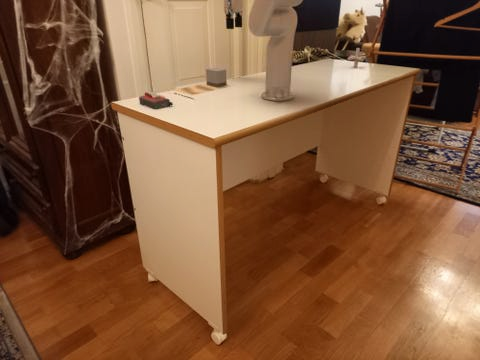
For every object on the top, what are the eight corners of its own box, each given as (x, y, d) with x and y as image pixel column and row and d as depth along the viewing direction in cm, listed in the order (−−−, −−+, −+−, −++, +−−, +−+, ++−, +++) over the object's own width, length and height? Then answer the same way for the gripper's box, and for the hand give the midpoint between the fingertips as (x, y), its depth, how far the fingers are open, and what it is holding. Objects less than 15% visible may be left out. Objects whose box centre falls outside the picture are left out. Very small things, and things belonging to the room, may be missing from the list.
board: (215, 85, 155) (215, 81, 154) (234, 89, 147) (234, 85, 147) (174, 93, 142) (173, 89, 141) (192, 98, 134) (191, 94, 133)
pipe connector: (342, 67, 192) (344, 47, 188) (358, 65, 195) (360, 46, 190) (352, 70, 184) (355, 49, 179) (369, 68, 186) (372, 49, 182)
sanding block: (215, 83, 152) (215, 67, 149) (226, 85, 147) (226, 69, 144) (206, 84, 149) (205, 69, 146) (217, 87, 144) (216, 71, 141)
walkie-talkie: (178, 106, 126) (149, 96, 139) (177, 94, 124) (148, 85, 137) (156, 111, 121) (129, 100, 134) (155, 98, 119) (127, 89, 132)
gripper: (232, -18, 149) (233, 26, 156) (216, -19, 134) (218, 29, 142) (249, -18, 146) (249, 26, 154) (234, -20, 132) (235, 29, 140)
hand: (234, 28), depth 148 cm, fingers open, 9 cm apart
